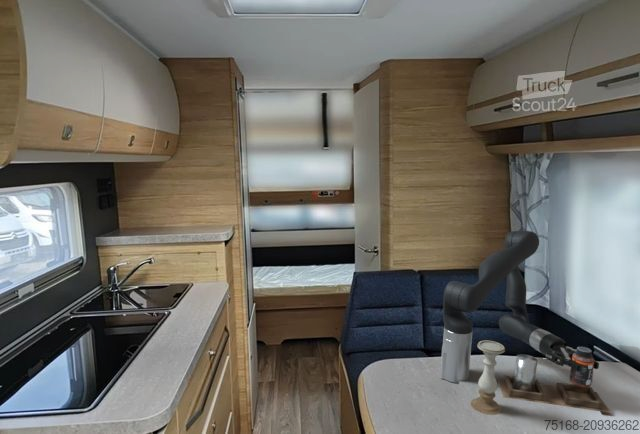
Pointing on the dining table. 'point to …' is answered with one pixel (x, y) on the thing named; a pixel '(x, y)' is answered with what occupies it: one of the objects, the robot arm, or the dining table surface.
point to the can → (525, 373)
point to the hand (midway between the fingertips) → (589, 367)
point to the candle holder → (488, 379)
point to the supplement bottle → (583, 367)
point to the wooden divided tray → (556, 395)
